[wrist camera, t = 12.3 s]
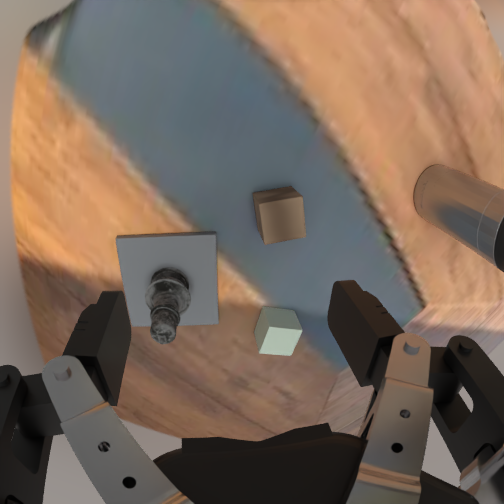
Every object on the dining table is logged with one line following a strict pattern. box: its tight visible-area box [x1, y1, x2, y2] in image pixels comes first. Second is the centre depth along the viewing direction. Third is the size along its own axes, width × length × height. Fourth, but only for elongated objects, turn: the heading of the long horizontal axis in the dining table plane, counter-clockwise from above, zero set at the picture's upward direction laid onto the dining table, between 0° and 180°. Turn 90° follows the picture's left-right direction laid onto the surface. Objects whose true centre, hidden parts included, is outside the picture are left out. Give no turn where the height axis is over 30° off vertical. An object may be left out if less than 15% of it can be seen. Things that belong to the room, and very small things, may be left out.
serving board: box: [116, 232, 219, 326], centre depth 42 cm, size 13×14×1 cm
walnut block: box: [253, 186, 306, 245], centre depth 38 cm, size 5×5×5 cm
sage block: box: [254, 306, 303, 356], centre depth 46 cm, size 5×5×5 cm
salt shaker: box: [145, 267, 191, 344], centre depth 36 cm, size 6×6×12 cm
